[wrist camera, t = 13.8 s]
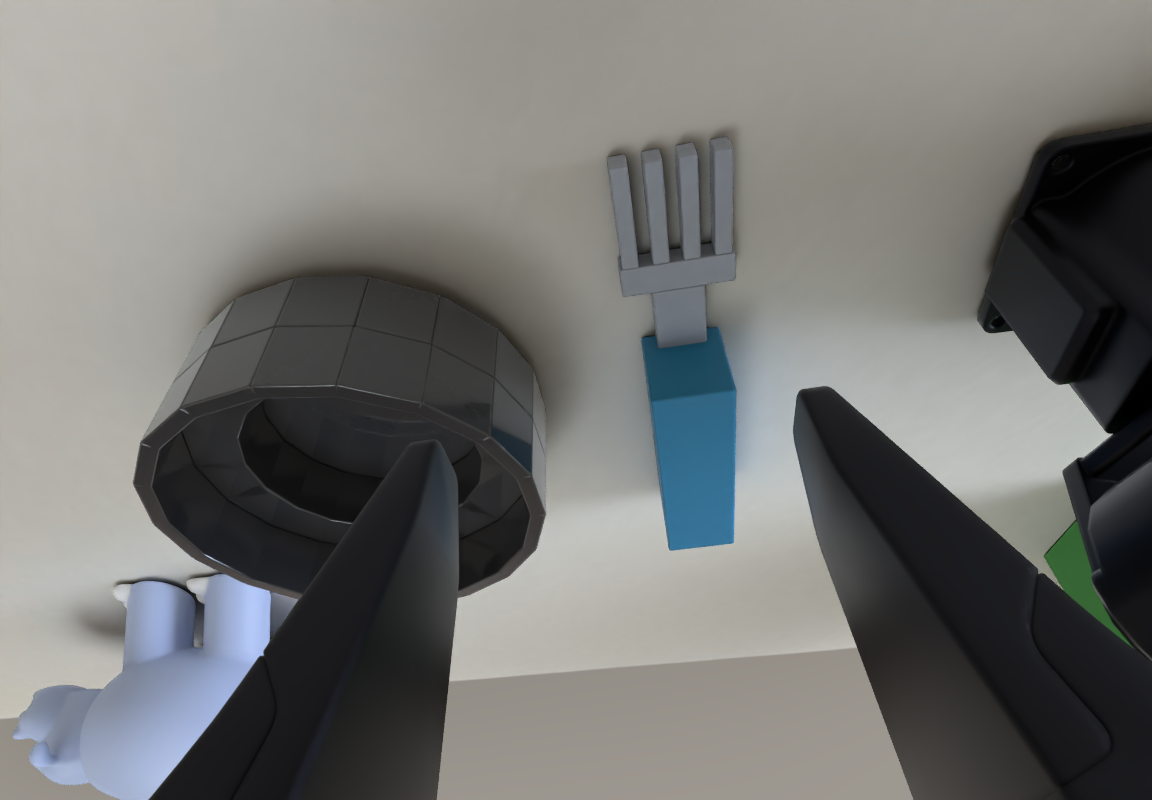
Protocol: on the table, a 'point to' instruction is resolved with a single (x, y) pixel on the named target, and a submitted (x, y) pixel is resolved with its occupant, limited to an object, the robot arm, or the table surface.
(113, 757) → the hippopotamus toy
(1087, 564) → the hardback book
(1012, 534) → the table surface
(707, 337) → the fork
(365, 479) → the dark grey ramekin
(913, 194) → the table surface
